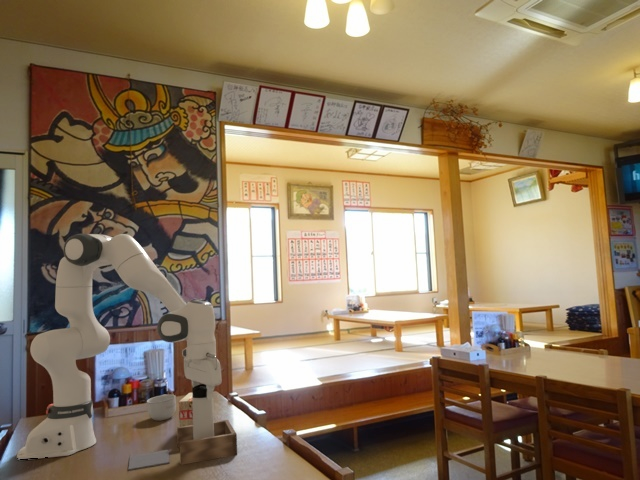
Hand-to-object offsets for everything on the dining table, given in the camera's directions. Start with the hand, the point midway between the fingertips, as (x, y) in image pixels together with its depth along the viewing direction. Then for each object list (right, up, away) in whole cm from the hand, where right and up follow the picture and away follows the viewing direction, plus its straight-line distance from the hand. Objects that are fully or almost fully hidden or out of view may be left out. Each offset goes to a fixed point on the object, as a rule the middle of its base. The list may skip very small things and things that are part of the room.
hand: (203, 396), depth 143 cm
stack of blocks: (-8, -19, +23) cm, 31 cm away
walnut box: (+1, -16, -2) cm, 16 cm away
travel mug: (+1, -16, -2) cm, 17 cm away
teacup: (-26, -22, +38) cm, 51 cm away
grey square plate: (-14, -17, -7) cm, 23 cm away
